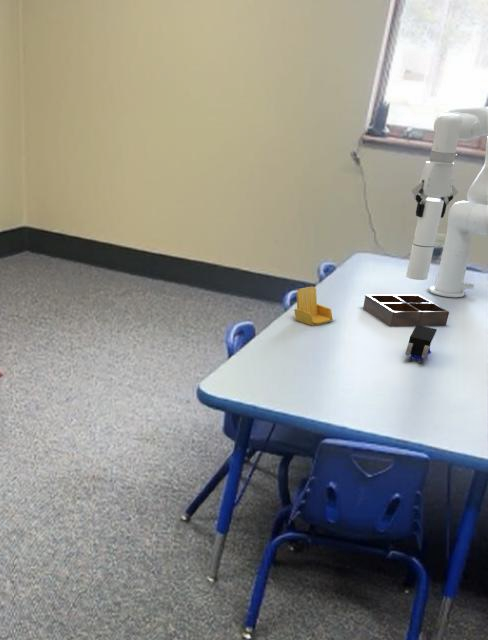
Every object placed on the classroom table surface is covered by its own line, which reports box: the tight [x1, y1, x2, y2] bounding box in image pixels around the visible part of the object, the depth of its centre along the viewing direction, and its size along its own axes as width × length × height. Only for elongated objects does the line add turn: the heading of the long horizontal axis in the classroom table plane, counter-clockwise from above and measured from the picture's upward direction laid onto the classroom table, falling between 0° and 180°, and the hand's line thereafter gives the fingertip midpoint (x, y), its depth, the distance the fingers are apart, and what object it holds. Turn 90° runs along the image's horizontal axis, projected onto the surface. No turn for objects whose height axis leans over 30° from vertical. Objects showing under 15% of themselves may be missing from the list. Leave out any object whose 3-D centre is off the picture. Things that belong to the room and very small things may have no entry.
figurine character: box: [405, 325, 438, 364], centre depth 230 cm, size 7×8×15 cm
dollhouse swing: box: [294, 286, 334, 327], centre depth 254 cm, size 10×10×9 cm
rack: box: [362, 294, 450, 327], centre depth 266 cm, size 20×20×5 cm
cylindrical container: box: [405, 197, 444, 281], centre depth 271 cm, size 7×7×25 cm
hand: (429, 216), depth 267 cm, fingers closed on cylindrical container, 7 cm apart
